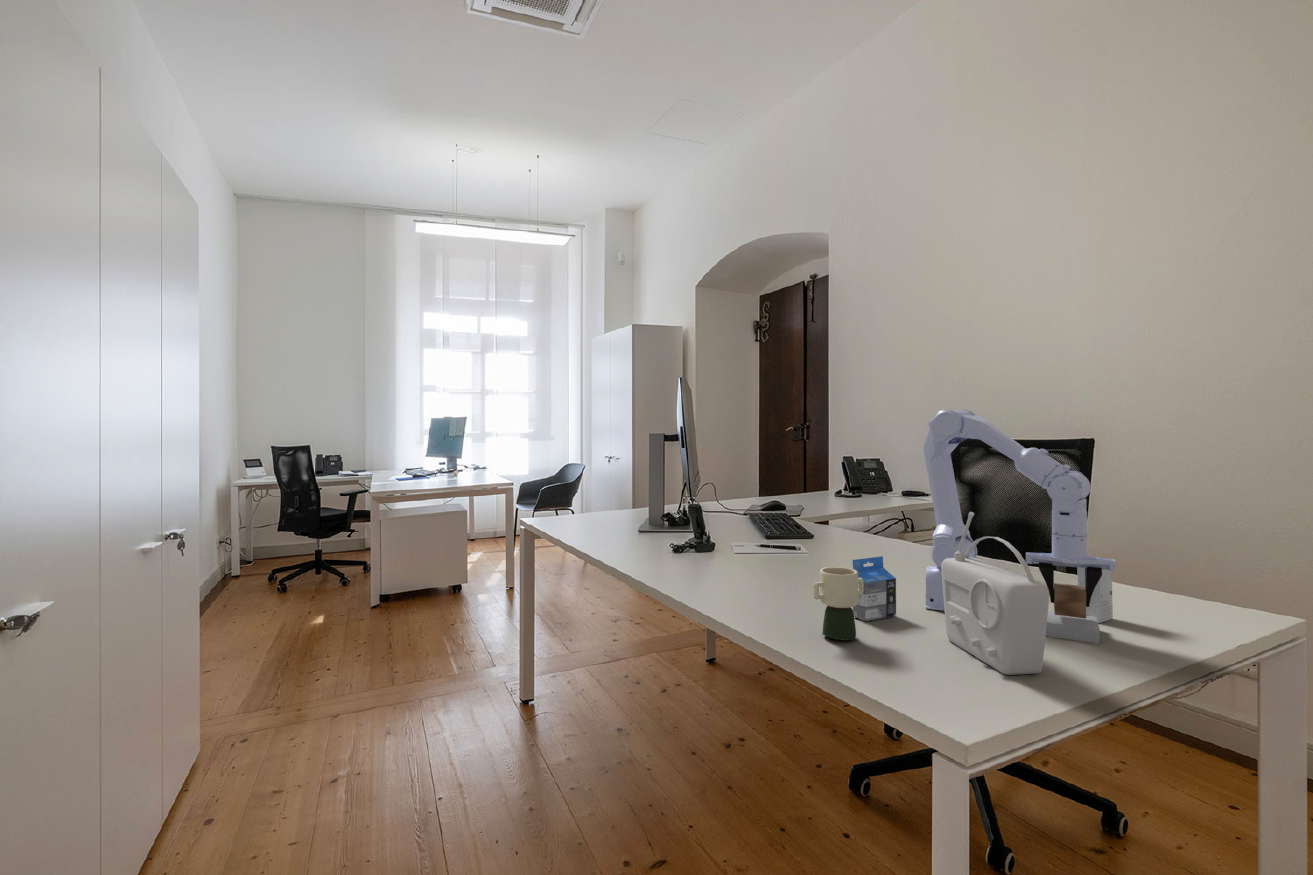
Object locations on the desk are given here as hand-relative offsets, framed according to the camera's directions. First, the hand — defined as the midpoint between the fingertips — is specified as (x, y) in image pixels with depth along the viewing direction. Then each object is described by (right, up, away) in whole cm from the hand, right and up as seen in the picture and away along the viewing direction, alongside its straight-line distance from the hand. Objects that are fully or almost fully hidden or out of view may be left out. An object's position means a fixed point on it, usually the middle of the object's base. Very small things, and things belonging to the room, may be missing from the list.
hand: (1069, 603), depth 121 cm
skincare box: (+11, -6, +9) cm, 15 cm away
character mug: (-45, -6, -2) cm, 46 cm away
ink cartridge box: (-34, -6, +11) cm, 36 cm away
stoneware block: (0, -6, 0) cm, 6 cm away
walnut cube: (0, -2, 0) cm, 2 cm away
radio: (-22, -6, -12) cm, 26 cm away
